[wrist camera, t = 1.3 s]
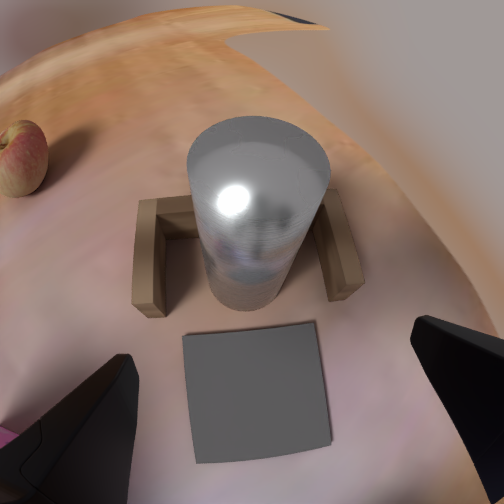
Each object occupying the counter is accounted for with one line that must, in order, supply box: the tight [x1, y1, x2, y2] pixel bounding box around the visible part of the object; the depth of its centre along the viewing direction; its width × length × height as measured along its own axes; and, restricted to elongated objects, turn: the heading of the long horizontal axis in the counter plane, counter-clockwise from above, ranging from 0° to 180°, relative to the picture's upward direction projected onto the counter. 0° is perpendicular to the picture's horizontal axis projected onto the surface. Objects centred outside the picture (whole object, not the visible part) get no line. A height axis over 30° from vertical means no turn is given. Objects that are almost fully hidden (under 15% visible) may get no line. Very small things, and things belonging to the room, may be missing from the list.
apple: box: [0, 120, 49, 198], centre depth 23 cm, size 9×9×8 cm
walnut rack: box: [132, 189, 365, 318], centre depth 22 cm, size 8×16×4 cm, turn 97°
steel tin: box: [187, 116, 331, 311], centre depth 17 cm, size 6×6×13 cm
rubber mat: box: [182, 323, 331, 464], centre depth 18 cm, size 10×10×1 cm
